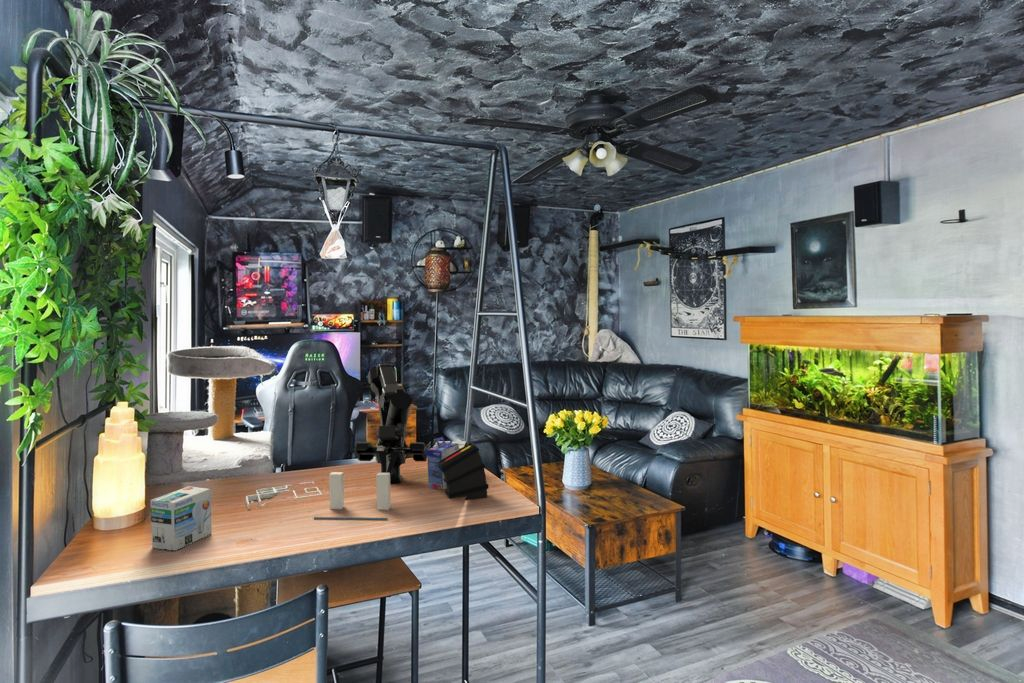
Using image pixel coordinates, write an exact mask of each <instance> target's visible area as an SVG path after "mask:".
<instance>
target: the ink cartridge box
mask: <svg viewBox="0 0 1024 683" xmlns="http://www.w3.org/2000/svg"><path fill="white" fill-rule="evenodd" d="M439 441H443V442H441V443H439ZM445 441H446V440H445V439H444V437H443V436H440V437H438V438H435V443H436V442H437V444H438V445H437V446H435V447H430V448H427V478H428V488H431V489H438V490H445V489H447V486H446V483H445V481H444V480H443V479H444V478H445V477H444V474H443V472H442V471H441V470H440V469H439V467H438V466H439V464H438V462H439V461H440V460H442V459H444V458H445V457H447V456H449V455H451V454H452V453H454V452H456V451H457V450H459V444H457V443H449V442H445Z"/></svg>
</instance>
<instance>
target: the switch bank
mask: <svg viewBox="0 0 1024 683" xmlns="http://www.w3.org/2000/svg"><path fill="white" fill-rule="evenodd" d="M313 520H337V521H341V520H342V521H348V520H350V521H351V520H352V521H353V520H355V521H388V517H359V516H358V517H353V516H352V517H351V516H350V517H347V516H340V517H339V516H314V517H313Z"/></svg>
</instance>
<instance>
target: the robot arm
mask: <svg viewBox="0 0 1024 683" xmlns="http://www.w3.org/2000/svg"><path fill="white" fill-rule="evenodd" d="M367 379H368V380H367V381H368V384H370V390H371V392H373V393H374V394H375V395H376V397H377V404H378V411H379V420H380V425H378V430H377V438H378V440H377V442H376V445H375V447H374V446H373V444H372V442H371V441H358V442H357V443H355V445H354V449H353V451H354V454H355V456H356V458H357V460H358V461H360V462H371V461H372V460H374V457H375V462H376V464H380V473H390V484H393V483H401V482H402V479H403V474H401V465H403V464H406V460H407V458H408V457H407V456H412V459H413V461H415V462H424V463H425V462H428V458H427V450H428V448H427V446H426V444H425V442H419V441H418V442H415V441H414V442H413V441H411V442H409V444H407V442H406V436H407V426H408V421H409V415H410V412H411V409H412V405H413V399H412V397H411V396H410V394H408V393H407V392H406V390H405V389H404V387H403V386H400V385H399V383H398V381H397V369H396V368H395V366H394V364H393V363H379V364H377V365H376V366H375V367H372V368H371V369H369V371H368V375H367ZM408 445H409V446H408Z"/></svg>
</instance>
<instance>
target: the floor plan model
mask: <svg viewBox="0 0 1024 683" xmlns="http://www.w3.org/2000/svg"><path fill="white" fill-rule="evenodd" d="M298 484H302V485H304V484H305V485H309V484H314V485H315V483H314V481H307V482H300V483H298ZM289 487H291V484H286V485H281V486H272V487H266V488H260V489H256V491H255V493H256V494H249V495H245V503H246V506H247V509H248V510H250V503H251V504H254V503H255V501H257V503H258V505H259V507H260V508H261V507H262V506H264V505H266V502H267V500H268V501H269V502H270V501H271V498H275V497H276V496H278V495H279V494H281V493H284V492H291V489H288V488H289ZM310 489H316V490H315V491H314V490H313V491H308V490H310ZM303 490H304V491H305V493H306V494H310V493H317V492H318V493H317V494H311V495H304V496H297V493H296V491H295V489H294V490H292V492H293V494H294V496H295V497H293V499H294V500H295V499H303V498H304V499H305V498H310V497H315V496H323V493H322V492H321V490H320V489H319V488H318V486H315V487H305V488H303ZM262 499H263V500H264V501H265V503H263V504H262Z"/></svg>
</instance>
